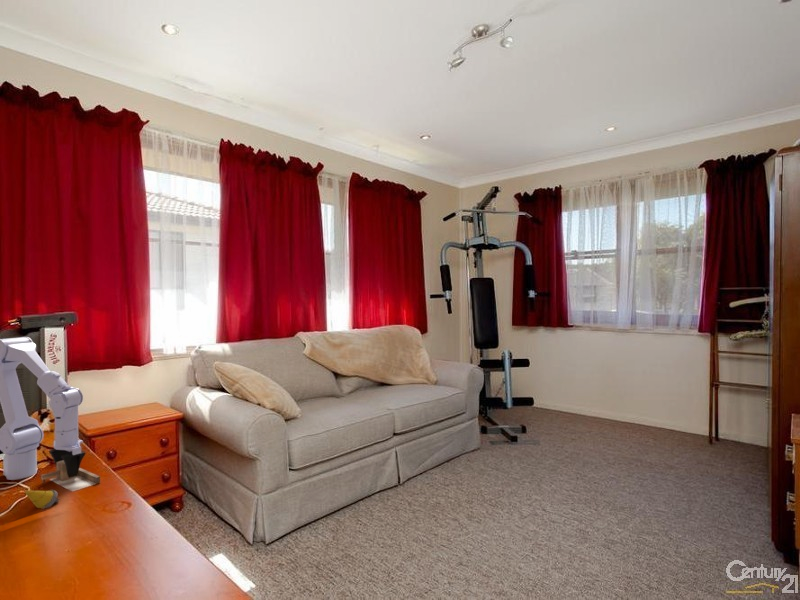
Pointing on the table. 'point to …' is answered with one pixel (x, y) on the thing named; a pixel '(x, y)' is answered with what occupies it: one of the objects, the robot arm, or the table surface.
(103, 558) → the table surface
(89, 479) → the board
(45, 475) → the block
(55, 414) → the robot arm
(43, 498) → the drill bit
